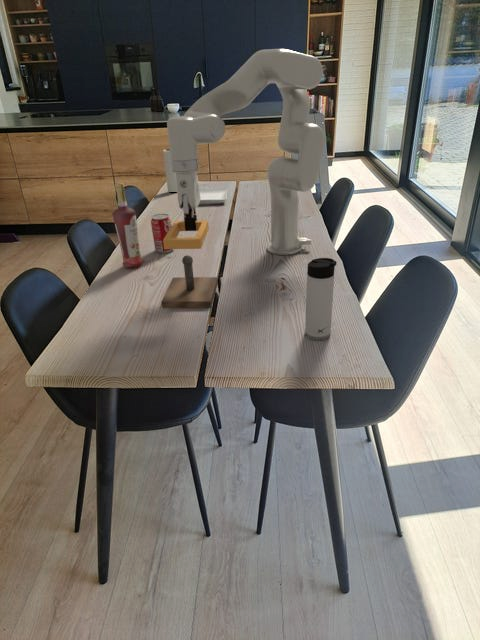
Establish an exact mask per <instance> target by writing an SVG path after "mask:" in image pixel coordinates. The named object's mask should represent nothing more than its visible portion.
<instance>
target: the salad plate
mask: <svg viewBox="0 0 480 640" xmlns="http://www.w3.org/2000/svg"><path fill="white" fill-rule="evenodd" d="M199 190H200V203H199V205H219V204H223V203H225V202H226V201H227V198H228V190H229V188H227V187H213V188H212V187H209V188H199ZM199 205H198V206H199Z"/></svg>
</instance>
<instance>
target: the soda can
mask: <svg viewBox="0 0 480 640" xmlns="http://www.w3.org/2000/svg"><path fill="white" fill-rule="evenodd" d="M150 225H151V231H152V238H153V245H154V250H155V251H156V253H159V254H168V253H171V252H173V250H174V249H164V243H163V239H164V238H165V236H166V234H167V233H168V231H169V230H170V228H171V226H172V220H171V218H170V215H169V214H168V213H157V214H153V215H152V216H151V219H150Z"/></svg>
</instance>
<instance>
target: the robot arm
mask: <svg viewBox="0 0 480 640" xmlns="http://www.w3.org/2000/svg"><path fill="white" fill-rule="evenodd" d="M323 73H324V69H323V64H322V62H321V60H319V59H318V57H316V56H313V55H310V54H305V53H302V52H297V51H293V50H291V49H286V48H271V49H270V48H269V49H260V50H257V51H256V52H254V53H253V54H252V55H251V56H250V57H249V58H248V59H247V61H245V63H244V64H242V66H240V67H239V69H238V70H237V71H235V73H234V74H233V75H232V76H231V77H230V78H228V79H227V80H226V81H225V82H224V83H221V84H220V85H218V86H216V87H215V88H213V89H212V90H210V91H208V92H207V93H206V94H204V95H202V96H201V97H200V98H199V99H197V100H196V101H195V102H194V103H193V104H192V105H191V106H190V107H189V108H188V109H187V110H186V112H185V113H184V114H183V115H178V116H173V117H169V119H167V122H166V126H167V136H168V144H169V145H168V146H169V147H168V148H169V149H170V156H171V165H172V172H173V173H176V182H177V193H176V194H177V202H178V207H179V209H181V210H183V221H184V222H185V230H186V231H185V232H197V231H196V221H198V219H197V216H198V215H197V211H196V210H197V208H198V206H199V203H200V190H199V189H200V183H199V177H198V172H199V171H200V163H199V151H198V144H215V143H217V142H220V141H221V140H222V138H224V136H225V133H226V124H225V121H224V120H223V119H222V118H221V116H224V115H226V114H229V113H233V112H237V111H240V110H242V109H244V108H246V107H247V106H249V105H250V104H251V103H252V102H253V101H254V100H255V99H256V97H258V95H260V93H261V92H263V90H264V89H265V88H266V87H267V86H268V85H270V84H275V85H276V87H277V88H278V90H279V93H280V94H281V97H282V102H283V103H282V114H281V118H280V119H281V120H280V125H279V128H278V129H279V130H278V136H277V137H278V138H277V146H278V148H279V150H281V151H282V152H284V153H287V154H293V155H298V158H294V157H290V156H289V157H286V156H279V157H275V158H274V159H273V160H271V161H270V163H269V165H268V167H267V181H268V185H269V189H270V190H269V193H270V237H271V238H270V239H271V241H269V243H268V244H267V245H266V250H267V251H268V252H269V253H271V254H273V255H279V256H280V255H281V256H282V255H283V256H289V255H294V254H297V253H300V252H301V251H302V249H303V246H304V245H306V246H311V245H312V239H310V238H309V239H308V238H307V237H300V234H299V211H300V210H299V208H300V207H299V204H300V203H299V202H300V201H299V199H300V198H299V194H298V192H303V193H306V192H309V191H311V190H312V189H313V188H314V186H315V185H316V182H317V180H318V176H319V173H320V168H321V163H322V159H323V154H324V148H325V143H326V141H325V139H326V138H325V133H324V130H323V129H322V127H321V126H320V125H318V124H316V123H309V117H310V110H311V102H310V101H311V100H310V97H309V95H308V92H307V90H312V89H314V88H316V87H317V86H318V85H319V84H320V83H321V82H322V79H323V75H324V74H323Z"/></svg>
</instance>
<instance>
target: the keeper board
mask: <svg viewBox="0 0 480 640" xmlns="http://www.w3.org/2000/svg"><path fill="white" fill-rule="evenodd" d="M181 262H182V264H183V269H184V277H172V279H171V281H170V283H169V285H168V287H167V289H166V291H165V293H164V295H163V298H162V300H161V308H163V309H166V308H167V309H173V308H174V309H175V308H179V309H181V308H182V309H183V308H184V309H185V308H187V309H189V308H190V309H191V308H192V309H196V308H197V309H198V308H200V309H201V308H202V309H204V308H205V309H207V308H209V309H210V308H212V305H213V301H214V299H215V295H216V290H217V288H218V283H219V282H218V276H216V277H215V276H211V277H210V276H207V277H206V276H204V277H203V276H201V277H198V276H196V277H195V276H194V270H193V268H194V267H193V262H194V260H193V257H192V256H191V255H188V254H187V255H185V256H183V257H182V260H181Z"/></svg>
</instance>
